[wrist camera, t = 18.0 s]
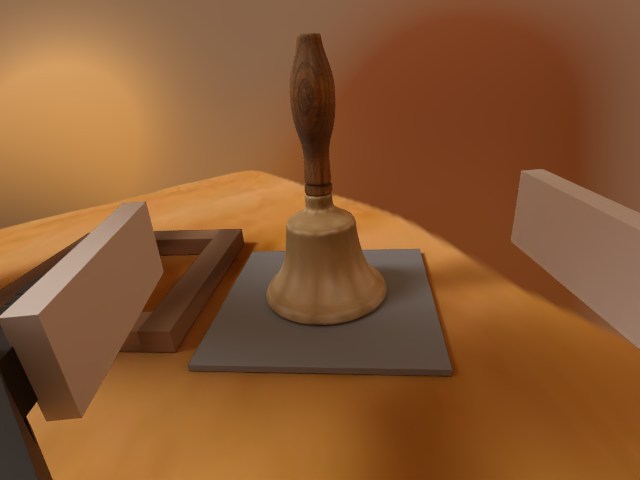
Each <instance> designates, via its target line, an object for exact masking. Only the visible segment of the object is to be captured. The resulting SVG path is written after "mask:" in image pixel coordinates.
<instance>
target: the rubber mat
mask: <svg viewBox="0 0 640 480" xmlns="http://www.w3.org/2000/svg"><path fill="white" fill-rule="evenodd" d="M362 252H363V254H364V257H365V258H366V260H367V261H368V263H369V264H370V265H371V266H373V267H374V268H375V269H376V270H378V272H379V273H380V274H381V275H382V277H383V278H384V280H385V282H386V285H387V292H386V296H385V298H384V300H383V301H382V303H381V304H380V305H379V306H378V307H377V308H376V309H375V310H373V311H372V312H370V313H368V314H366V315H364V316H362V317H359V318H357V319H355V320H352V321H348V322H343V323H338V324H330V325H322V324H320V325H314V324H312V325H310V324H302V323H297V322H293V321H291V320H287V319H285V318H283V317H281V316H279V315H278V314H277V313H275V312H274V311H273V310H272V309H271V308H270V307H269V305H268V303H267V299H266V293H267V289H268V286H269V284H270V282H271V280H272V279H273V278H274V276H275V275H276V274H277V273H278V272H279V271H280V269H281V267H282V264H283V261H284V257H285V251H268V252H252V254H251V255H250V257H249V259H248V261H247V262H246V264H245V266H244V268H243V269H242V271H241V273H240V275H239V276H238V278H237V280H236V282H235V283H234V285H233V287H232V289H231V290H230V292H229V294H228V296H227V297H226V299H225V301H224V303H223V304H222V306H221V308H220V310H219V311H218V313H217V315H216V317H215V318H214V320H213V322H212V324H211V325H210V327H209V329H208V331H207V332H206V334H205V336H204V338H203V339H202V341H201V343H200V345H199V346H198V348H197V350H196V352H195V353H194V355H193V357H192V359H191V361H190V362H189V364H188V368H189V371H222V372H273V373H324V374H376V375H427V376H452V366H451V363H450V359H449V355H448V352H447V348H446V344H445V341H444V337H443V333H442V330H441V326H440V322H439V318H438V315H437V311H436V307H435V304H434V300H433V296H432V293H431V289H430V285H429V282H428V278H427V274H426V270H425V267H424V263H423V259H422V256H421V252H420V249H381V250H362Z"/></svg>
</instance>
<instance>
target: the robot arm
mask: <svg viewBox="0 0 640 480" xmlns="http://www.w3.org/2000/svg"><path fill="white" fill-rule="evenodd" d="M511 242H512V243H514V244H515V245H516V246H518V248H520V249H521V250H522V251H523V252H524V253H526V254H527V255H528V256H529V257H530V258H532V259H533V260H534V261H535V262H536V263H538V264H539V265H540V266H541V267H542V268H544V269H545V270H546V271H547V272H548V273H549V274H551V275H552V276H553V277H554V278H555V279H556V280H558V281H559V282H560V283H561V284H562V285H564V286H565V287H566V288H567V289H568V290H570V291H571V292H572V293H573V294H574V295H576V296H577V297H578V298H579V299H580V300H582V301H583V302H584V303H585V304H586V305H587V306H589V307H590V308H591V309H592V310H593V311H595V312H596V313H597V314H598V315H599V316H601V317H602V318H603V319H604V320H605V321H607V322H608V323H609V324H610V325H611V326H612V327H614V328H615V329H616V330H617V331H618V332H620V333H621V334H622V335H623V336H624V337H626V338H627V339H628V340H629V341H630V342H631V343H633V344H634V345H635V346H636V347H637V348H639V349H640V213H638V212H636V211H634V210H632V209H629V208H627V207H625V206H623V205H620V204H618V203H616V202H614V201H612V200H610V199H607V198H605V197H603V196H601V195H598V194H596V193H594V192H592V191H590V190H587V189H585V188H583V187H581V186H579V185H576V184H574V183H572V182H570V181H567V180H565V179H563V178H561V177H559V176H556V175H554V174H552V173H550V172H547V171H545V170H543V169H537V170H527V171H526V170H525V171H521V177H520V184H519V191H518V197H517V204H516V211H515V218H514V224H513V231H512V237H511ZM163 273H164V271H163V267H162V263H161V259H160V255H159V251H158V247H157V243H156V239H155V235H154V231H153V227H152V224H151V220H150V216H149V212H148V208H147V204H146V201H144V202H132V203H123V204H122V205H121V206H119V207H118V208H117V209H116V210H115V211H114V212H113V213H112V214H111V215H110V216H109V217H107V218H106V219H105V220H104V221H103V222H102V223H101V224H100V225H99V226H98V227H97V228H95V229H94V230H93V231H92V232H91V233H90V234H89V235H88V236H87V237H86V238H84V239H83V240H82V241H81V242H80V243H79V244H78V245H77V246H76V247H75V248H74V249H72V250H71V251H70V252H69V253H68V254H67V255H66V256H65V257H64V258H63V259H62V260H60V261H59V262H58V263H57V264H56V265H55V266H54V267H53V268H52V269H51V270H50V271H48V272H47V273H45V274H43V275H42V276H40V277H38V278H36V279H34V280H33V281H31V282H29V283H27V284H26V285H25V286H24V287H23V288H22V289H21V290H19V291H18V292H17V293H16V294H15V297H12V298H10V299H9V300H8V301H7V302H6V303H5V304H4V306H1V307H0V480H53V479H52V477H51V475H50V472H49V470H48V467H47V465H46V462H45V460H44V457H43V455H42V452H41V450H40V447H39V445H38V442H37V440H36V437H35V435H34V432H33V430H32V428H31V426H30V424H29V422H28V420H27V418H26V416H27V414H28V413H29V412H30V410H31V409H32V407H33V406H34V405H35V403H36V402H37V403H38V405H39V407H40V409H41V411H42V413H43V415H44V417H45V419H46V421H55V420H64V419H74V418H82V416H83V415H84V413H85V411H86V409H87V408H88V406H89V404H90V402H91V400H92V399H93V397H94V395H95V393H96V392H97V390H98V388H99V386H100V384H101V383H102V381H103V379H104V377H105V376H106V374H107V372H108V370H109V368H110V367H111V365H112V363H113V361H114V360H115V358H116V356H117V354H118V352H119V351H120V349H121V347H122V345H123V344H124V342H125V340H126V338H127V336H128V335H129V333H130V331H131V329H132V328H133V326H134V324H135V322H136V321H137V319H138V317H139V315H140V313H141V312H142V310H143V308H144V306H145V305H146V303H147V301H148V299H149V297H150V296H151V294H152V292H153V290H154V289H155V287H156V285H157V283H158V281H159V280H160V278H161V276H162V274H163Z"/></svg>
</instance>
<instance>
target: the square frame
mask: <svg viewBox="0 0 640 480" xmlns="http://www.w3.org/2000/svg"><path fill="white" fill-rule="evenodd" d="M89 234H90V233H88V234H86V235H85V236H83V237H82V238H80V239H78V240H77V241H75V242H74V243H72V244H71V245H69V246H68V247H66V248H65V249H63V250H62V251H60V252H58V253H57V254H55V255H54V256H52V257H51V258H49V259H48V260H46V261H45V262H43V263H42V264H40V265H38V266H37V267H35V268H34V269H32V270H31V271H29V272H28V273H26V274H25V275H23V276H22V277H20V278H18V279H17V280H15V281H14V282H12V283H11V284H9V285H8V286H6V287H5V288H3V289H2V290H0V307H1V306H4V304H5V303H6V302H7V301H8V300H9V299H10V298H12V297H15V294H16V293H17V292H18V291H19V290H21V289H22V288H23V287H24V286H25V285H26V284H27V283H29V282H31V281H33V280H34V279H36V278H38V277H40V276H42V275H43V274H45V273H47V272H48V271H50V270H51V269H52V268H53V267H54V266H55V265H56V264H57V263H58V262H59V261H60V260H62V259H63V258H64V257H65V256H66V255H67V254H68V253H69V252H70V251H71V250H72V249H74V248H75V247H76V246H77V245H78V244H79V243H80V242H81V241H82V240H83V239H84V238H86V237H87V236H88V235H89ZM154 235H155V239H156V243H157V247H158V251H159V255H189V254H200V255H199V256H198V257H197V259H196V260H195V261H194V262H193V263H192V265H191V266H190V267H189V268H188V270H187V271H186V272H185V273H184V274H183V276H182V277H181V278H180V279H179V280H178V282H177V283H176V284H175V285H174V287H173V288H172V289H171V290H170V291H169V293H168V294H167V295H166V296H165V297H164V299H163V300H162V301H161V302H160V304H159V305H158V306H157V307H156V308H155V310H154V311H142V312H141V313H140V315H139V317H138V319H137V321H136V322H135V324H134V326H133V328H132V329H131V331H130V333H129V335H128V336H127V338H126V340H125V342H124V344H123V345H122V347H121V349H120V351H119V352H176V350H177V348H178V347H179V345H180V344H181V342H182V341H183V339H184V337H185V336H186V334H187V333H188V331H189V330H190V328H191V327H192V325H193V323H194V322H195V320H196V319H197V317H198V316H199V314H200V312H201V311H202V309H203V308H204V306H205V305H206V303H207V301H208V300H209V298H210V297H211V295H212V294H213V292H214V290H215V289H216V287H217V286H218V284H219V283H220V281H221V279H222V278H223V276H224V275H225V273H226V272H227V270H228V268H229V267H230V265H231V264H232V262H233V261H234V259H235V258H236V256H237V254H238V253H239V251H240V250H241V248H242V247H243V245H244V240H243V234H242V229H220V230H179V231H154Z"/></svg>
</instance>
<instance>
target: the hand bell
mask: <svg viewBox="0 0 640 480" xmlns="http://www.w3.org/2000/svg"><path fill="white" fill-rule="evenodd" d="M290 103H291V110H292V115H293V120H294V124H295V127H296V130H297V133H298V136H299V138H300V141H301V144H302V148H303V154H304V173H305V183H306V184H305V193H306V195H305V202H306V205H305V208H304V209H303V210H301V211H300V212H298V213H296V214H294V215H293V216H291V217H290V219H289V220H288V222H287V225H286V251H285V257H284V261H283V264H282V267H281V269H280V271H279V272H278V273H277V274H276V275H275V276H274V278H273V279H272V280H271V282H270V284H269V286H268V289H267V293H266V299H267V303H268V305H269V307H270V308H271V309H272V310H273V311H274V312H275V313H277V314H278V315H279V316H281V317H283V318H285V319H287V320H291V321H293V322H297V323H302V324H310V325H312V324H314V325H320V324H322V325H330V324H338V323H343V322H348V321H352V320H355V319H357V318H359V317H362V316H364V315H366V314H368V313H370V312H372V311H373V310H375V309H376V308H377V307H378V306H379V305H380V304H381V303H382V301H383V300H384V298H385V296H386V292H387V285H386V282H385V280H384V278H383V277H382V275H381V274H380V273H379V272H378V270H376V269H375V268H374V267H373V266H371V265H370V264H369V263H368V261H367V260H366V258H365V257H364V254H363V252H362V249H361V246H360V243H359V238H358V234H357V229H356V222H355V218H354V216H353V215H352V214H351V213H350V212H348V211H346V210H344V209H340V208H338V207H336V206H334V204H333V201H332V193H331V192H332V184H331V183H330V181H331V174H330V162H329V144H330V138H331V134H332V130H333V125H334V118H335V86H334V79H333V76H332V71H331V68H330V65H329V62H328V60H327V57H326V54H325V51H324V48H323V45H322V40H321V35H320V34H318V33H310V34H300V35H298V36H297V44H296V51H295V56H294V60H293V64H292V70H291V77H290Z"/></svg>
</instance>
